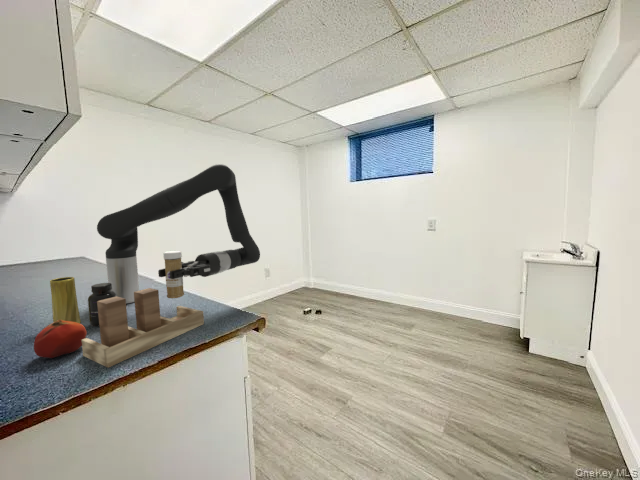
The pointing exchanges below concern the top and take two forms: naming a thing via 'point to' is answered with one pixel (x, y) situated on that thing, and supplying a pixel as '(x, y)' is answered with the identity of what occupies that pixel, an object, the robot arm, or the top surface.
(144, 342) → the rail rack
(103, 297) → the supplement bottle
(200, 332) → the top surface
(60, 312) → the vase
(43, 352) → the tomato
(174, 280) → the spice jar
